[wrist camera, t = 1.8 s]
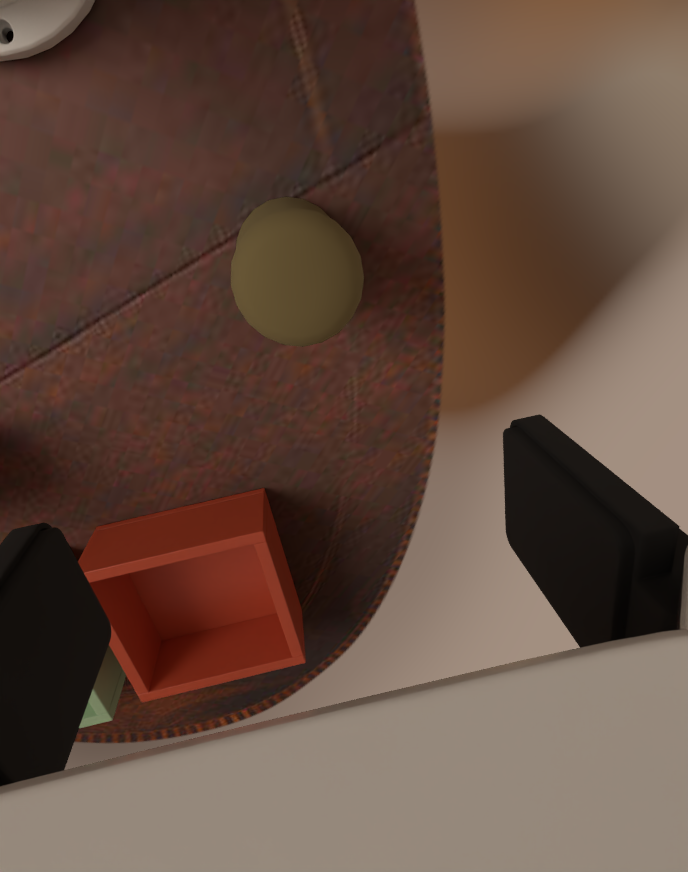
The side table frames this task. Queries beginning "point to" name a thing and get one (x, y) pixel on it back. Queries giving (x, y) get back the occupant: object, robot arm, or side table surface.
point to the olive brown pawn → (295, 272)
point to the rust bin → (196, 595)
